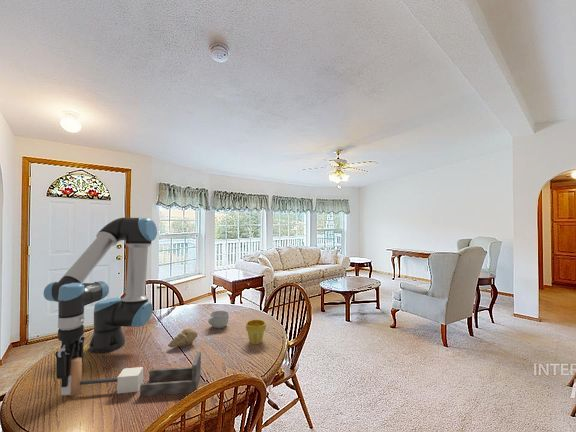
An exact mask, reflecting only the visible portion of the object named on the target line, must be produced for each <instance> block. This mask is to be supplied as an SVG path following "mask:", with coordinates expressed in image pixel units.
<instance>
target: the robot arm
mask: <svg viewBox="0 0 576 432" xmlns="http://www.w3.org/2000/svg"><path fill="white" fill-rule="evenodd" d="M157 236H158V228H157V224H156V223H155V221H154V220H153V219H152V218H150V217H119V218H116V219H114V220H112V221H110V222H108V223H107V224H106V225H104V226H103V227H102V228H101V229H100V230H99V231H98V232H97V234H96V238H95V239H94V240H93V242H92V243H91V244H90V245H89V246H88V247H87V248H86V249H85V251H83V253H81V255H80V256H79V257H78V259H77V260H76V261H75V262H74V263H73V264H72V265H71V267H70V268H69V269H68V270H67V271H66V272H65V274H64V275H63V276H62V277H61V278H60V279H59V281H55V282H54V281H53V282H50V283H48V284H46V286H45V287H44V289H43V298H44V299H45V300H47V301H49V302H56V303H58V305H57V306H58V308H57V309H58V312H57V314H58V316H57V317H58V318H57V328H58V330H57V340H58V341H59V342H61V345H60V349H59V351H55V353H54V355H55V360H56V362H55V363H56V365H55V366H56V380H61V389H60V391H61V393H60V396H68V395H70V394H71V375H70V368H71V360H72V359H73V358H82V364H83V363H84V346H85V343H84V342H85V339H86V337H85V336H83V335H84V333H85V331H84V329H85V326H84V325H85V324H84V323H85V322H84V321H85V307H86V306H88V305H91V304H93V303H95V304H94V308H93V309H94V310H93V334H92V336H91V340H90V342H89V344H88V345H89V347H88V351H89V352H91V353H94V354H95V353H96V354H99V353H108V352H112V351H115V350H118V349H120V348H121V347H123V346H124V345H125V343H126V339H125V335H124V331H123V330H122V327H127V328H128V327H132V328H136V327H137V328H140V327H143V326H145V325H146V324H148V322H149V321H150V318H151V317H152V314H153V310H154V309H153V308H154V307H153V304H152V302H149V297H148V296H147V295H146V286H147V285H146V283H147V267H148V253H149V247H150V246H151V245H152V242H153V241H155V239H156V237H157ZM120 241H125V245H126V247H128V259H127V270H126V271H127V272H126V286H125V296H124V297H118V296H117V297H110V298H106V297H107V296H108V295H109V291H110V286H109V285H108V283H106V282H105V281H101V280H100V281H94V282H85V280H86V279H87V278H88V277H89V275H91V273H92V272H93V270H94V269H95V268H96V267H97V265H98V264H99V263H100V262H101V260H102V259H103V258H104V257H105V256H106V254H107V253H108V252H109V250H110V249H111V248H112V247H115V246H116V245H117V244H118V243H119V242H120ZM105 298H106V299H105Z"/></svg>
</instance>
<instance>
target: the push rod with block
mask: <svg viewBox="0 0 576 432" xmlns="http://www.w3.org/2000/svg"><path fill="white" fill-rule="evenodd" d="M82 367H83V363H82V358H73V359H72V360H71V368H70V375H71V394H70V395H67V396H68V397H75V396H77V395H80V393H82V386H83V385H94V384H95V385H96V384H106V383H108V384H109V383H116V382H117V389H116V394H118V395H119V394H128V393H137V392H139V391H140V385H141V384H144V367H143V366H137V367H129V368H128V367H126V368H125V367H124V368H123V369H122V371H121V372H120V373H119V375H118V376H117V377H109V378H98V379H97V378H96V379H87V380H86V379H85V380H82V372H83V371H82V370H83V369H82Z"/></svg>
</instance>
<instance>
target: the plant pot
mask: <svg viewBox="0 0 576 432" xmlns="http://www.w3.org/2000/svg"><path fill="white" fill-rule="evenodd" d="M266 329H267V322H266V321H265V320H264V319H251V320H248V321H247V322H246V324H245V330H246V332H247V336H248V340H249V343H250V344H251V345H258V344H261V343H262V342H263V339H264V333H265V331H266Z"/></svg>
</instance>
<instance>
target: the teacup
mask: <svg viewBox="0 0 576 432" xmlns="http://www.w3.org/2000/svg"><path fill="white" fill-rule="evenodd" d="M229 315H230V313H229V311H225V310H214V311H212V312H211V313H210V317H209V319H208V324H209V325H210V326H211V327H213V328H214V329H224V328H225V327H226V326H227V325H228V324H229Z"/></svg>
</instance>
